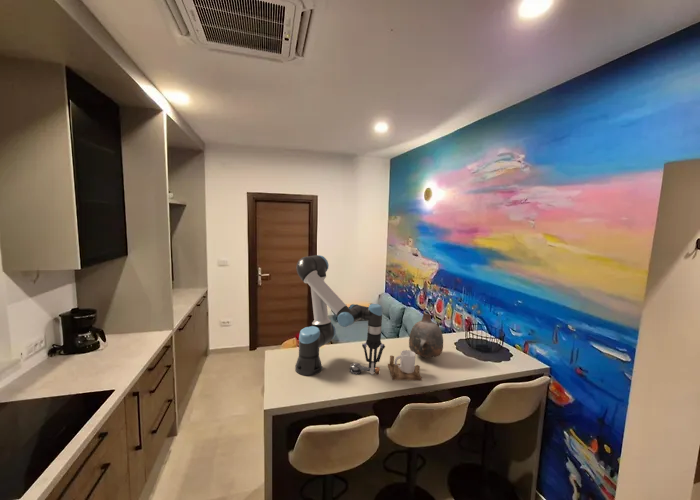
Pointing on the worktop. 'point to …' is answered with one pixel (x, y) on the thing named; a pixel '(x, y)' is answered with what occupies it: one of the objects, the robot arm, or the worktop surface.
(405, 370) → the mug
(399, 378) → the peg rest
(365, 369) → the grey metal tool
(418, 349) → the jug
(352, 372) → the nut washer
